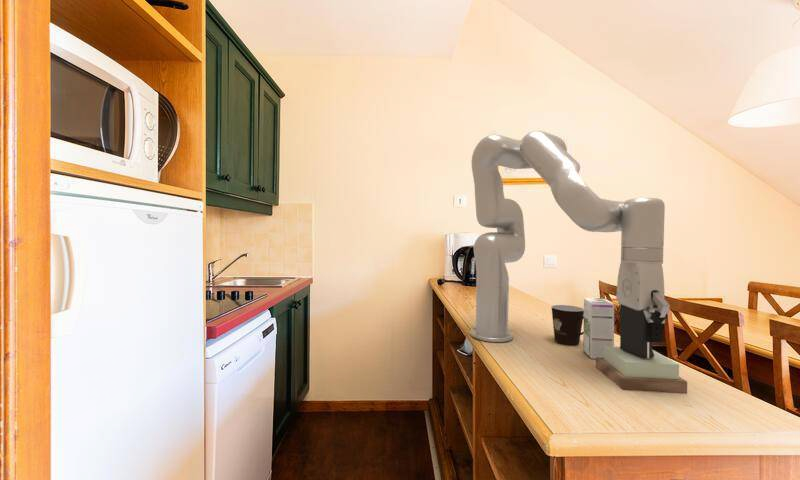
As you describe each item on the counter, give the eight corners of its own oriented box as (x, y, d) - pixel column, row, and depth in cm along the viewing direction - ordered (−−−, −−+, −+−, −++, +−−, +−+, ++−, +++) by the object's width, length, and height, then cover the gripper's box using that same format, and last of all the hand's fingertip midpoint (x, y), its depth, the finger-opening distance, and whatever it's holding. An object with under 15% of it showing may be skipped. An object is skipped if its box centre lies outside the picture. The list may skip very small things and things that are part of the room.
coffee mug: (547, 336, 106) (547, 304, 105) (577, 338, 104) (577, 305, 104) (559, 349, 94) (559, 313, 94) (592, 351, 93) (593, 314, 93)
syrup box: (614, 360, 87) (616, 302, 86) (588, 358, 88) (590, 301, 87) (605, 352, 92) (607, 298, 92) (581, 351, 93) (583, 297, 93)
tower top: (603, 358, 81) (603, 346, 81) (650, 361, 80) (650, 348, 80) (625, 376, 71) (625, 361, 71) (678, 379, 70) (679, 364, 70)
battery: (661, 359, 72) (661, 304, 72) (645, 360, 72) (645, 305, 72) (633, 348, 79) (633, 298, 79) (618, 349, 79) (618, 299, 79)
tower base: (595, 369, 82) (596, 357, 82) (649, 372, 81) (650, 359, 81) (622, 393, 70) (623, 378, 70) (686, 396, 69) (687, 381, 69)
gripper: (603, 253, 84) (602, 323, 84) (646, 258, 67) (644, 347, 67) (637, 253, 83) (635, 324, 83) (689, 259, 66) (686, 349, 66)
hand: (639, 334), depth 75 cm, fingers open, 9 cm apart
